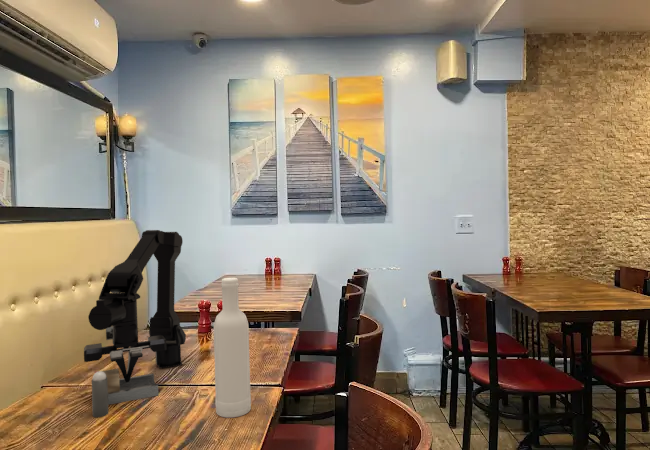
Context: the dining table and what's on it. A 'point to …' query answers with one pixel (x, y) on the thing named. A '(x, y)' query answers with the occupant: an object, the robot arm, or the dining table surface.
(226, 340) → the bottle
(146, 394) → the grey open tray
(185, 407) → the dining table surface
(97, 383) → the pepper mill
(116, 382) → the block
